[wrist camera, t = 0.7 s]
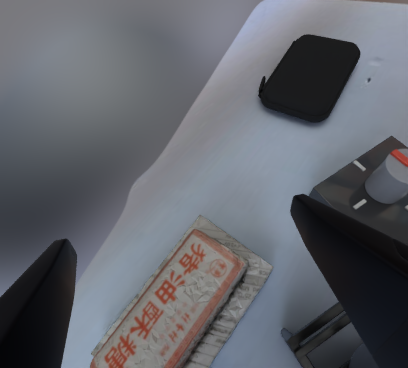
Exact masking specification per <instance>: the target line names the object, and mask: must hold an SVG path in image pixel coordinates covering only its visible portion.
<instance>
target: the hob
mask: <svg viewBox="0 0 408 368" xmlns="http://www.w3.org/2000/svg"><path fill="white" fill-rule="evenodd" d="M395 149H397V150H398V149H408V147H406V146H405V145H404V144H402V143H401V142H400V141H398V140H397V139H396V138H394V137H393V136H390V137H389V138H387V139H386V140H384V141H383V142H381V143H380V144H378V145H377V146H375V147H374V148H372V149H371V150H369V151H368V152H366V153H365V154H363V155H362V156H360V157H359V158H357V159H356V160H354V161H353V162H351V163H350V164H348V165H347V166H345V167H344V168H342V169H341V170H339V171H338V172H336V173H335V174H333V175H332V176H330V177H329V178H327V179H326V180H324V181H323V182H321V183H320V184H318V185H317V186H315V187H314V188H313V190H312V191H311V193H310V195H309V197H311V198H313V199H315V200H317V201H319V202H321V203H323V204H325V205H327V206H330V207H332V208H334V209H336V210H338V211H340V212H342V213H344V214H346V215H348V216H350V217H352V218H354V219H356V220H358V221H360V222H362V223H364V224H366V225H368V226H370V227H372V228H374V229H376V230H378V231H380V232H382V233H384V234H386V235H389V236H391V237H392V238H395V239H397V240H399V241H401V242H403V243H405V244H407V245H408V196H406V197H405V198H403V199H402V200H400V201H399V202H396V203H392V204H385V203H381V202H378V201H376V200H374V199H373V198H372V197H371V196H370V195H369V194H368V193H367V191H366V189H365V181H366V179H367V177H368V176H369V175H370V174H371V173H372V172H373V171H374V170H375V169H376V168H377V166H378V165H379V164H380V163H381V162H382V161H383V160H384V159H385V158H386V157H387V156H388V155H389V154H390V153H391V152H392V151H394V150H395Z"/></svg>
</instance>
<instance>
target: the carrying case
mask: <svg viewBox="0 0 408 368" xmlns="http://www.w3.org/2000/svg"><path fill="white" fill-rule="evenodd" d="M359 58H360V50H359V48H358V47H357V45H356V44H354V43H352V42H347V41H342V40H336V39H331V38H326V37H321V36H315V35H303V36H301V37H300V38H299V39H297V40H296V41H293V43H292V45H291V46H290V48H289V49H288V51H287V52H286V54H285V55H284V57H283V58H282V60H281V61H280V63H279V64H278V66H277V67H276V69H275V70H274V72H273V73H272V75H271V76H270V78H269V79H268V80H267V82H266V83H265V76H264V77H263V78H262V81H261V84H260V87H259V95H260V96H259V95H258V96H259V98H261V101H262V103H263V104H264V106H266V107H267V108H269V109H273V110H276V111H279V112H282V113H285V114H288V115H291V116H294V117H297V118H300V119H303V120H306V121H310V122H319V121H322V120H324V119H326V118H327V117H328V116H329V115H330V113H331V112H332V110H333V108H334V106H335V104H336V102H337V100H338V98H339V96H340V94H341V93H342V91H343V89H344V87H345V85H346V83H347V81H348V79H349V77H350V75H351V73H352V72H353V70H354V68H355V66H356V64H357V62H358V60H359ZM264 84H265V85H264Z"/></svg>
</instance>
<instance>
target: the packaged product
mask: <svg viewBox="0 0 408 368" xmlns="http://www.w3.org/2000/svg"><path fill="white" fill-rule="evenodd" d="M272 269H273V266H271V265H270V264H269V263H267V262H266V261H265V260H263V259H262V258H260V257H259V256H258V255H256V254H255V253H253V252H252V251H251V250H249V249H248V248H246V247H245V246H244V245H242V244H241V243H239V242H238V241H237V240H235V239H234V238H233V237H231V236H230V235H228V234H227V233H226V232H224V231H223V230H221V229H220V228H218V227H217V226H216V225H214V224H213V223H211V222H210V221H208V220H207V219H205V218H204V217H202V216H201V215H199V217H198V218H197V220H196V221H195V222H194V223H193V225H192V226H191V227H190V228H189V229H188V230H187V232H186V233H185V234H184V236H183V237H182V239H181V240H180V241H179V242H178V244H177V245H176V246H175V247H174V249H173V250H172V251H171V252H170V254H169V255H168V256H167V257H166V258H165V260H164V261H163V262H162V263H161V265H160V266H159V267H158V269H157V270H156V271H155V272H154V274H153V275H152V276H151V277H150V278H149V280H148V281H147V282H146V284H145V285H144V287H143V288H142V290H141V292H140V293H139V294H138V295H136V297H135V298H134V299H133V300H132V302H131V303H130V304H129V305H128V307H127V308H126V309H125V311H124V312H123V313H122V315H121V316H120V318H119V319H118V320H117V321H116V322H115V323H114V325H113V326H112V327H111V328H110V330H109V331H108V332H107V333H106V335H105V336H104V337H103V339H102V340H101V341H100V342H99V343H98V345H97V346H96V347H95V349H94V350H93V351H92V353H91V354H92V355H93V357H94V358H93V360H92V362H91V365H90V368H209V366H210V365H211V363H212V361H213V360H214V358H215V357H216V355H217V354H218V352H219V351H220V350H221V348H222V347H223V345H224V344H225V342H226V341H227V340H228V338H229V337H230V335H231V334H232V332H233V330H234V329H235V327H236V326H237V324H238V322H239V321H240V319H241V318H242V316H243V315H244V313H245V312H246V310H247V309H248V307H249V306H250V304H251V303H252V301H253V300H254V298H255V297H256V295H257V294H258V292H259V291H260V289H261V288H262V286H263V285H264V283H265V281H266V280H267V278H268V276H269V274H270V273H271V271H272Z"/></svg>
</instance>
